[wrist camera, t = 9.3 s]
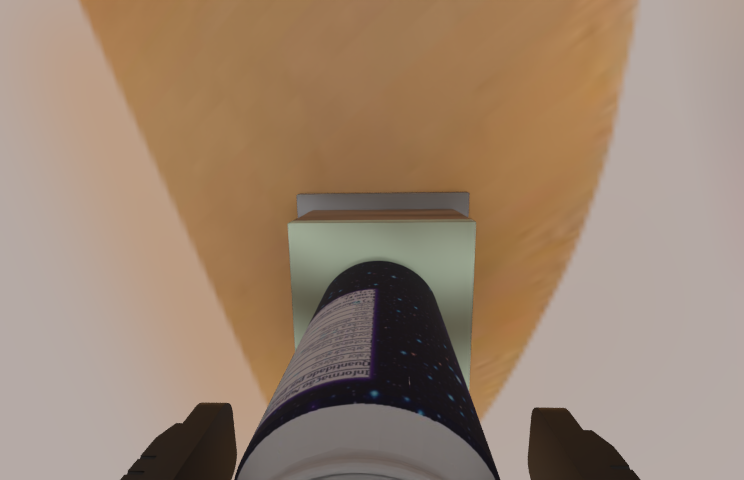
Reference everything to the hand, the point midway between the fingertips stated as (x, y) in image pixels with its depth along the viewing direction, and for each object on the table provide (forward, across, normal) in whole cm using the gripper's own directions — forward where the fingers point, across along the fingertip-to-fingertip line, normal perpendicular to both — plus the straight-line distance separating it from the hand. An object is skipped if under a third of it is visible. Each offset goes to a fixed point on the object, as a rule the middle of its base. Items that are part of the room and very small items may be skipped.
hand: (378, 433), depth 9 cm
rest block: (+15, 0, 0) cm, 16 cm away
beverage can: (+9, 0, 0) cm, 9 cm away
